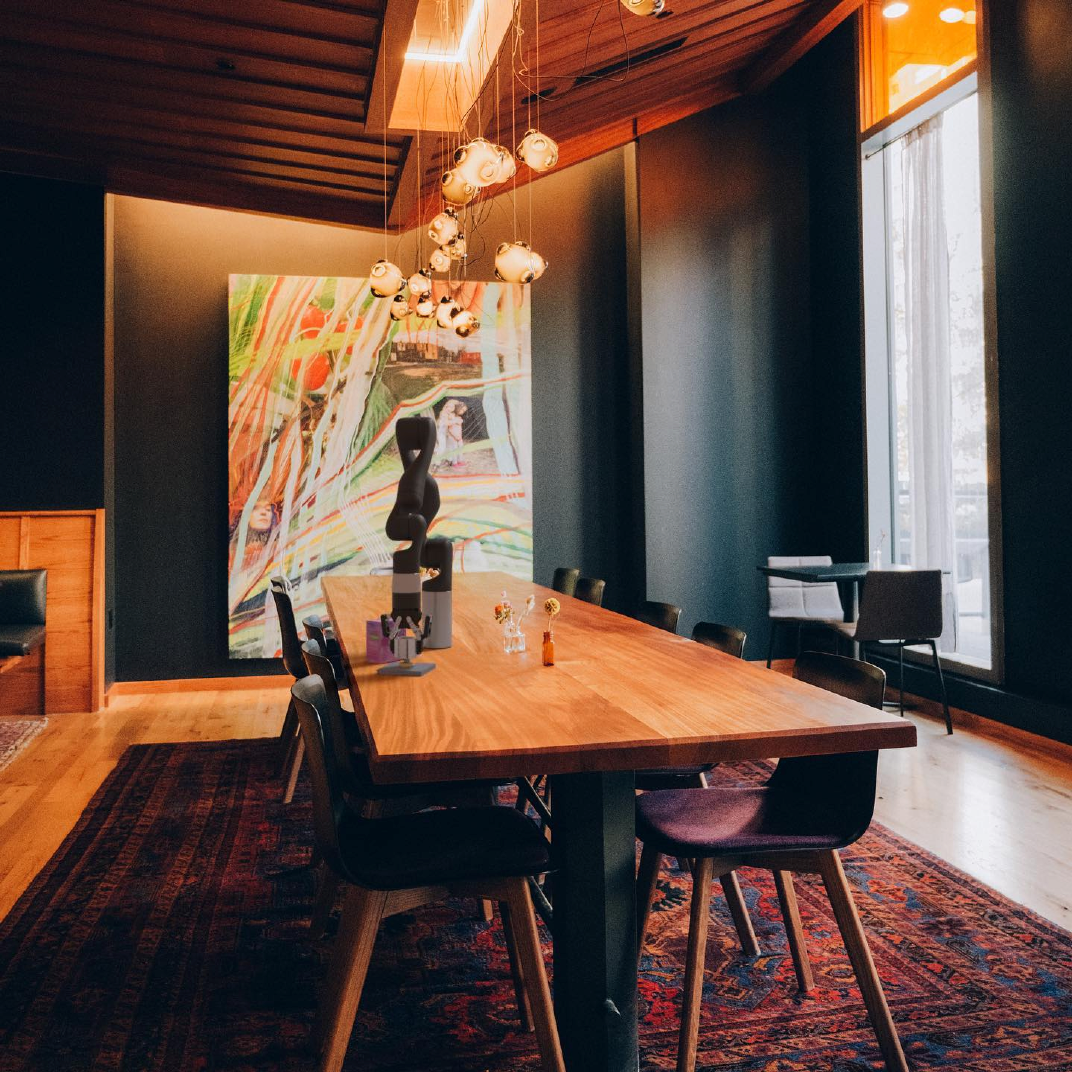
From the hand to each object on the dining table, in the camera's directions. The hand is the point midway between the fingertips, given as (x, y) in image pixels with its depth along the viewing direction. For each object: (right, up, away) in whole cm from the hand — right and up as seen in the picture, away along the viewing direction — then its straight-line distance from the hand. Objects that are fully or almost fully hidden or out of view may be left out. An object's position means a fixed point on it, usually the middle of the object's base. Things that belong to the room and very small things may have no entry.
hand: (406, 653), depth 244 cm
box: (-8, -4, +16) cm, 18 cm away
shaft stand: (0, -5, 0) cm, 5 cm away
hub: (0, -1, 0) cm, 1 cm away
